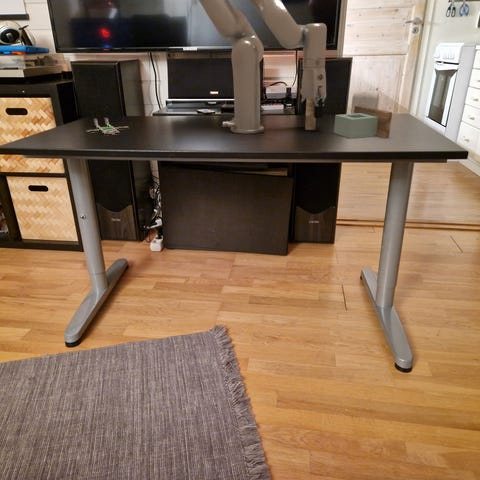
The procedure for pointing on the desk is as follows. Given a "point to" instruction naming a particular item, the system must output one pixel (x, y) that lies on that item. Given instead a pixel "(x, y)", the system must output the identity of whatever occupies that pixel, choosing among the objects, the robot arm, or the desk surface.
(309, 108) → the dowel
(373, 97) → the photo printer
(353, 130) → the block
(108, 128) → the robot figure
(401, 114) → the desk surface
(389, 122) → the board
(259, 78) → the robot arm
